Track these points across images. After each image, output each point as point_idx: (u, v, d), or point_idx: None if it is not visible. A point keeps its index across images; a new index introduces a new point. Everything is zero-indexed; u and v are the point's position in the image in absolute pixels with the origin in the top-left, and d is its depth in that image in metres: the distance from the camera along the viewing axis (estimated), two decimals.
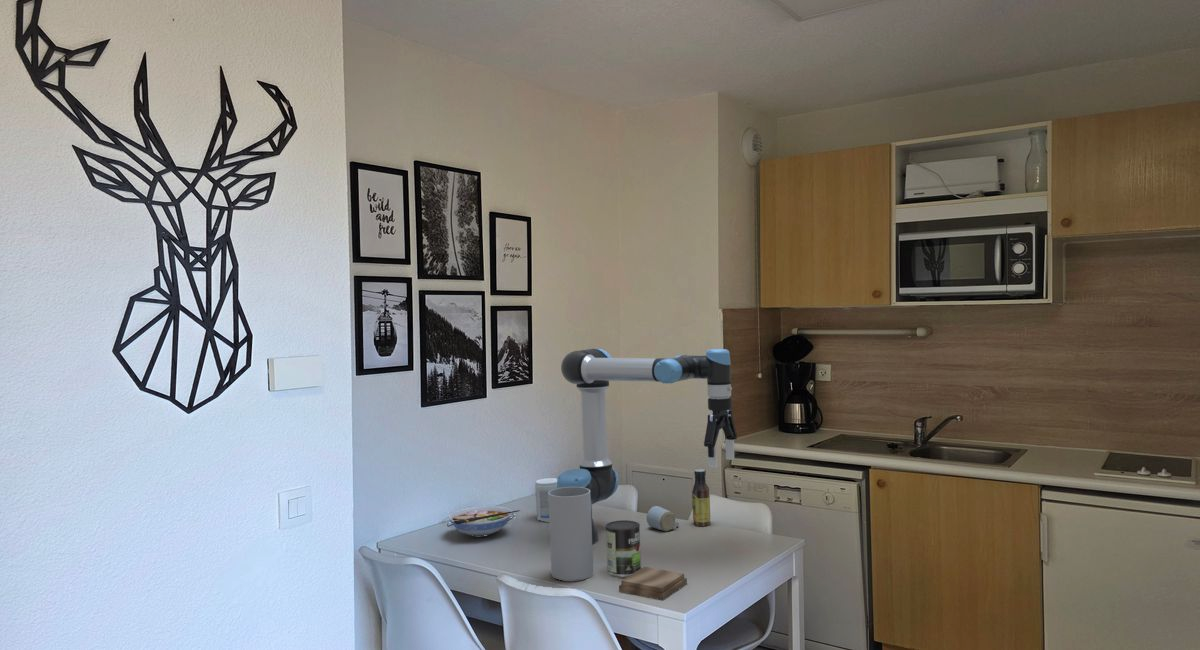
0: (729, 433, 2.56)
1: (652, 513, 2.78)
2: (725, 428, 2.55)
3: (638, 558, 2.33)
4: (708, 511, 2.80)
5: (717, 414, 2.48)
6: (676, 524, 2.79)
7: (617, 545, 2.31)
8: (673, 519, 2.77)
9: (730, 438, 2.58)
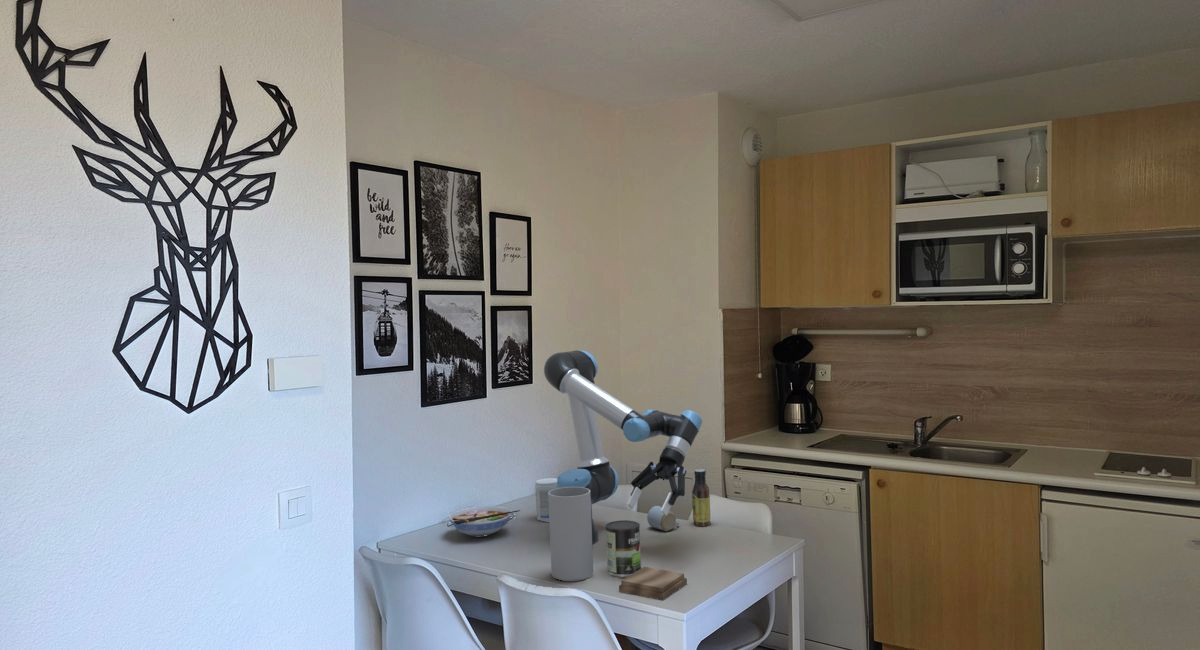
0: (645, 484, 2.52)
1: (653, 513, 2.78)
2: (651, 479, 2.51)
3: (638, 558, 2.33)
4: (708, 511, 2.80)
5: None
6: (677, 524, 2.79)
7: (617, 545, 2.31)
8: (674, 519, 2.77)
9: (639, 488, 2.52)
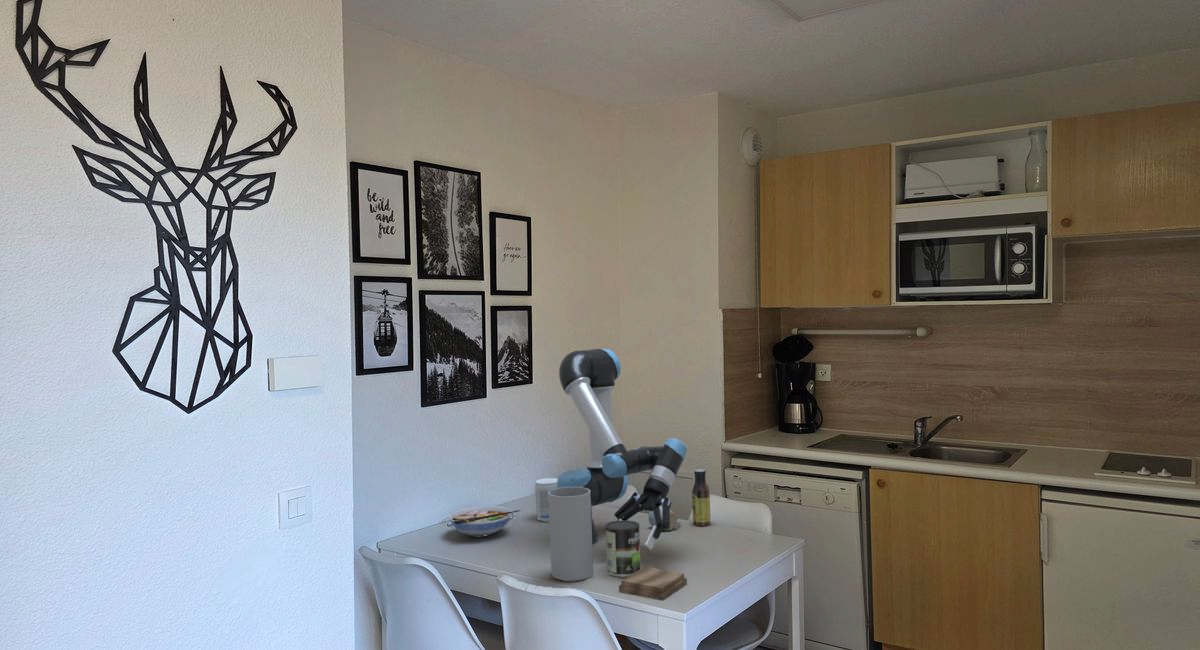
0: (629, 516, 2.44)
1: None
2: (635, 510, 2.44)
3: (638, 558, 2.33)
4: (708, 511, 2.80)
5: None
6: (678, 524, 2.79)
7: (617, 545, 2.31)
8: (675, 519, 2.77)
9: None
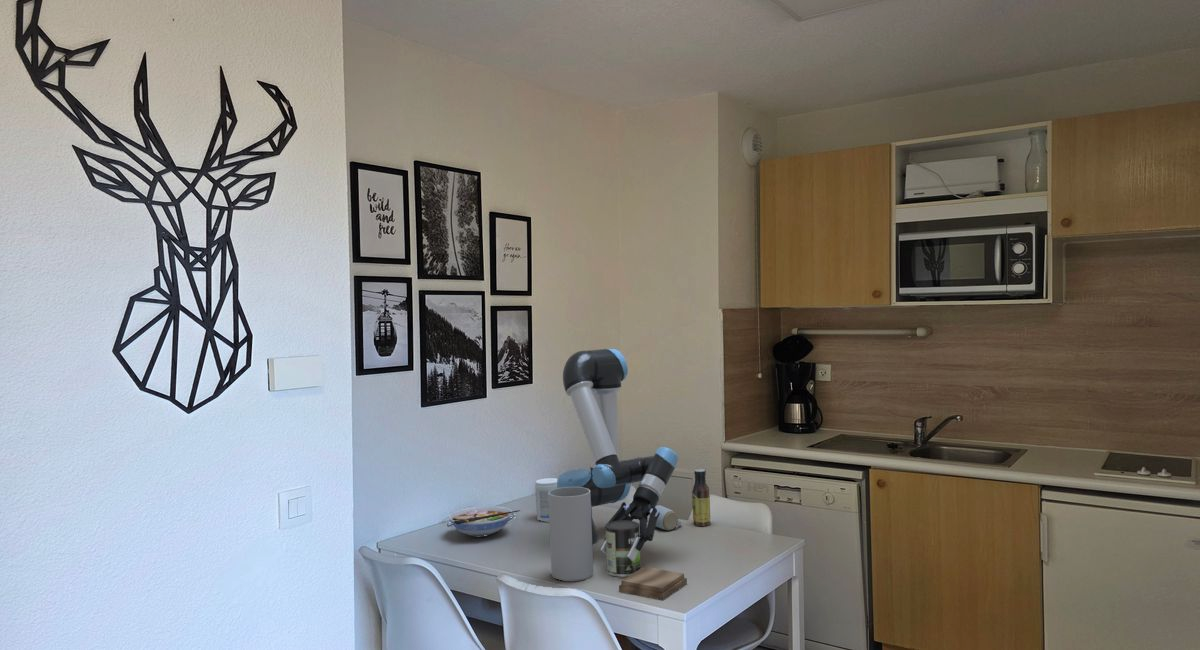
0: None
1: None
2: None
3: (638, 558, 2.33)
4: (708, 511, 2.80)
5: None
6: (679, 523, 2.80)
7: (617, 545, 2.31)
8: (676, 518, 2.77)
9: None
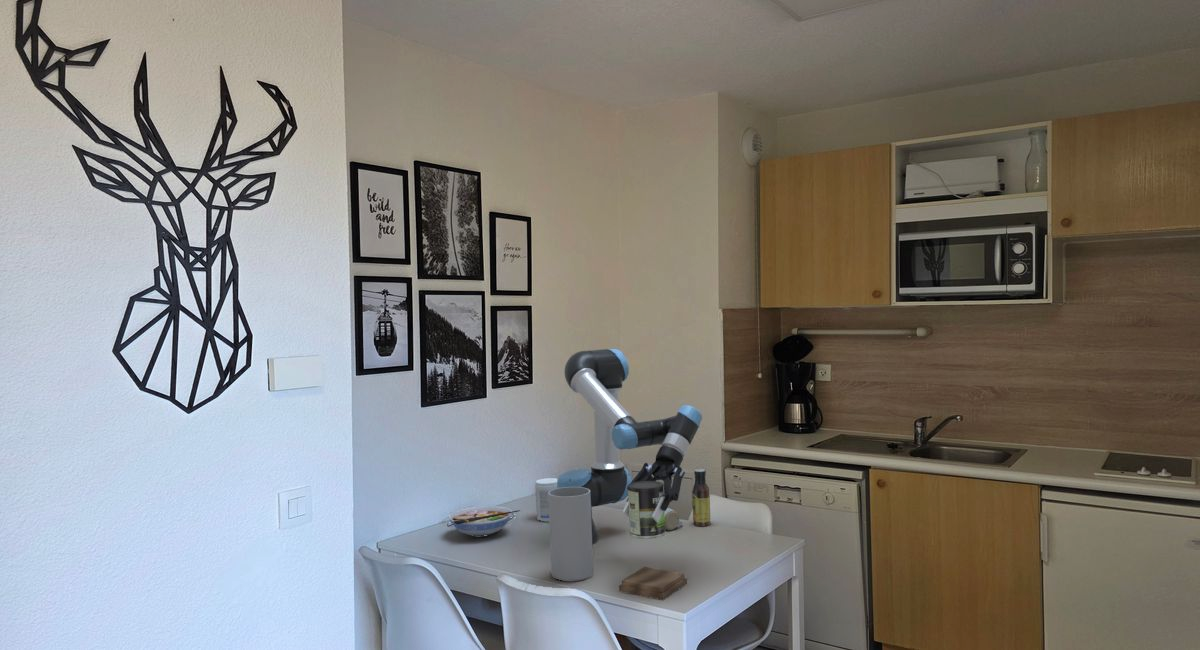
0: None
1: None
2: None
3: (663, 519, 2.21)
4: (708, 511, 2.80)
5: None
6: (680, 523, 2.80)
7: (641, 505, 2.18)
8: (677, 518, 2.78)
9: None
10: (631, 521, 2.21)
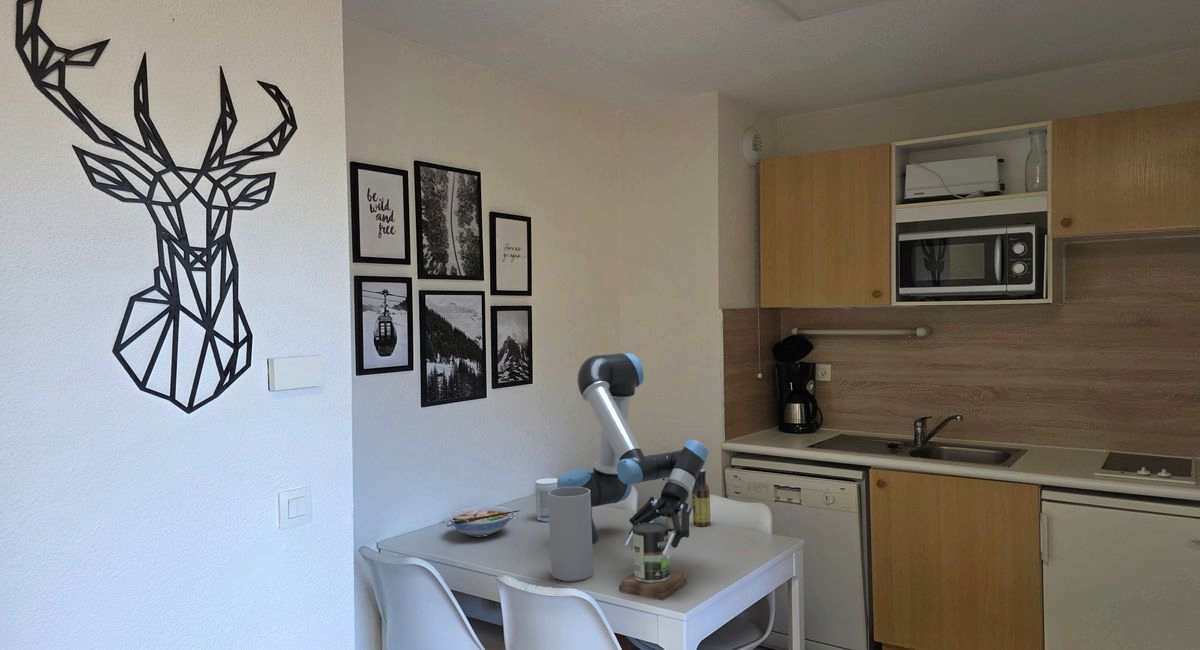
0: (646, 522, 2.28)
1: None
2: (651, 516, 2.27)
3: (667, 563, 2.19)
4: (708, 511, 2.80)
5: None
6: None
7: (646, 549, 2.17)
8: (679, 518, 2.78)
9: None
10: (635, 564, 2.19)
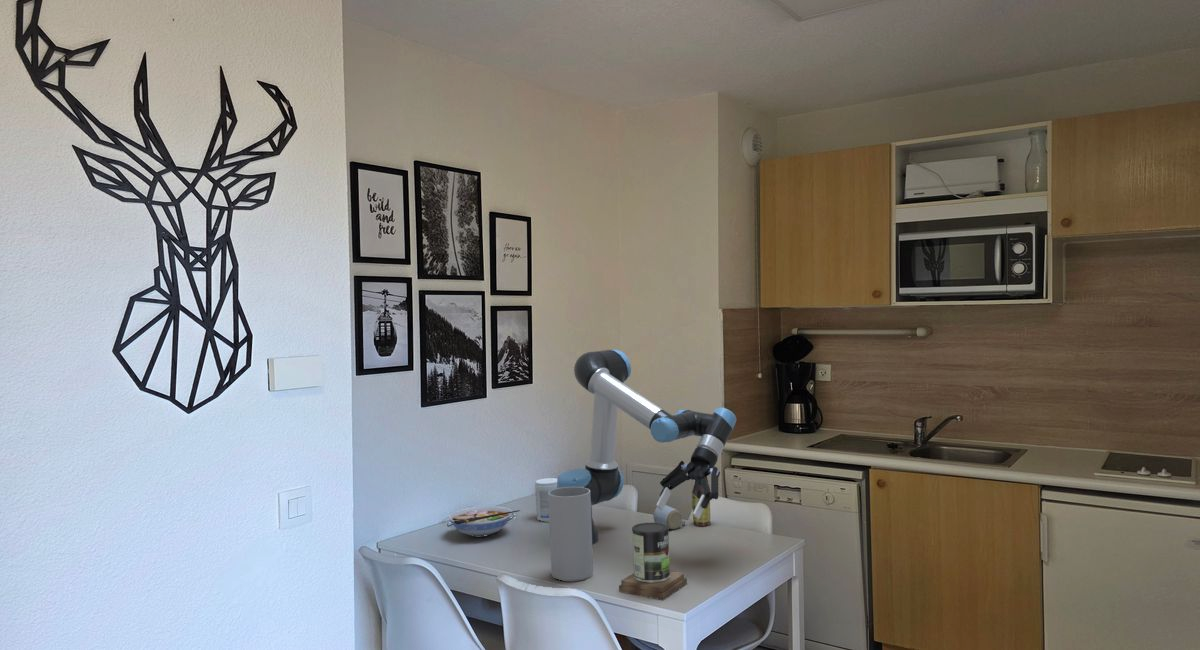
0: (676, 485, 2.39)
1: (659, 511, 2.80)
2: (681, 479, 2.38)
3: (667, 563, 2.19)
4: (708, 511, 2.80)
5: None
6: (683, 522, 2.81)
7: (646, 549, 2.17)
8: (680, 517, 2.78)
9: (668, 488, 2.39)
10: (635, 564, 2.19)
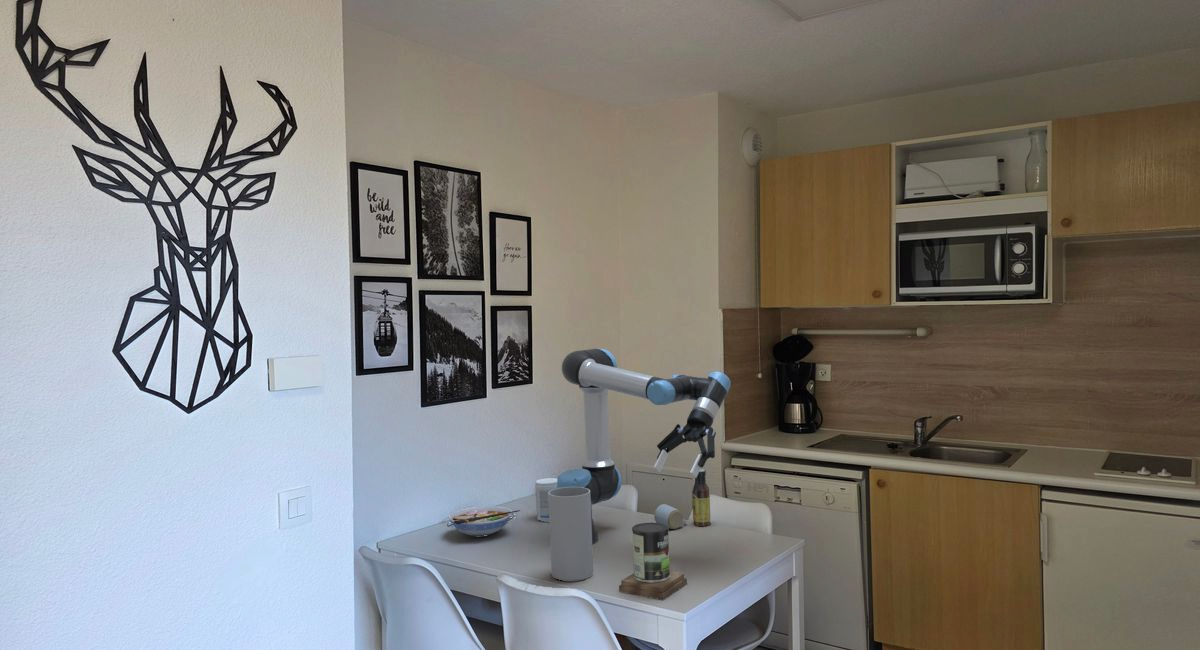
0: (672, 447, 2.41)
1: (660, 511, 2.80)
2: (678, 442, 2.41)
3: (667, 563, 2.19)
4: (708, 511, 2.80)
5: None
6: (684, 522, 2.81)
7: (646, 549, 2.17)
8: (681, 517, 2.79)
9: None
10: (635, 564, 2.19)
